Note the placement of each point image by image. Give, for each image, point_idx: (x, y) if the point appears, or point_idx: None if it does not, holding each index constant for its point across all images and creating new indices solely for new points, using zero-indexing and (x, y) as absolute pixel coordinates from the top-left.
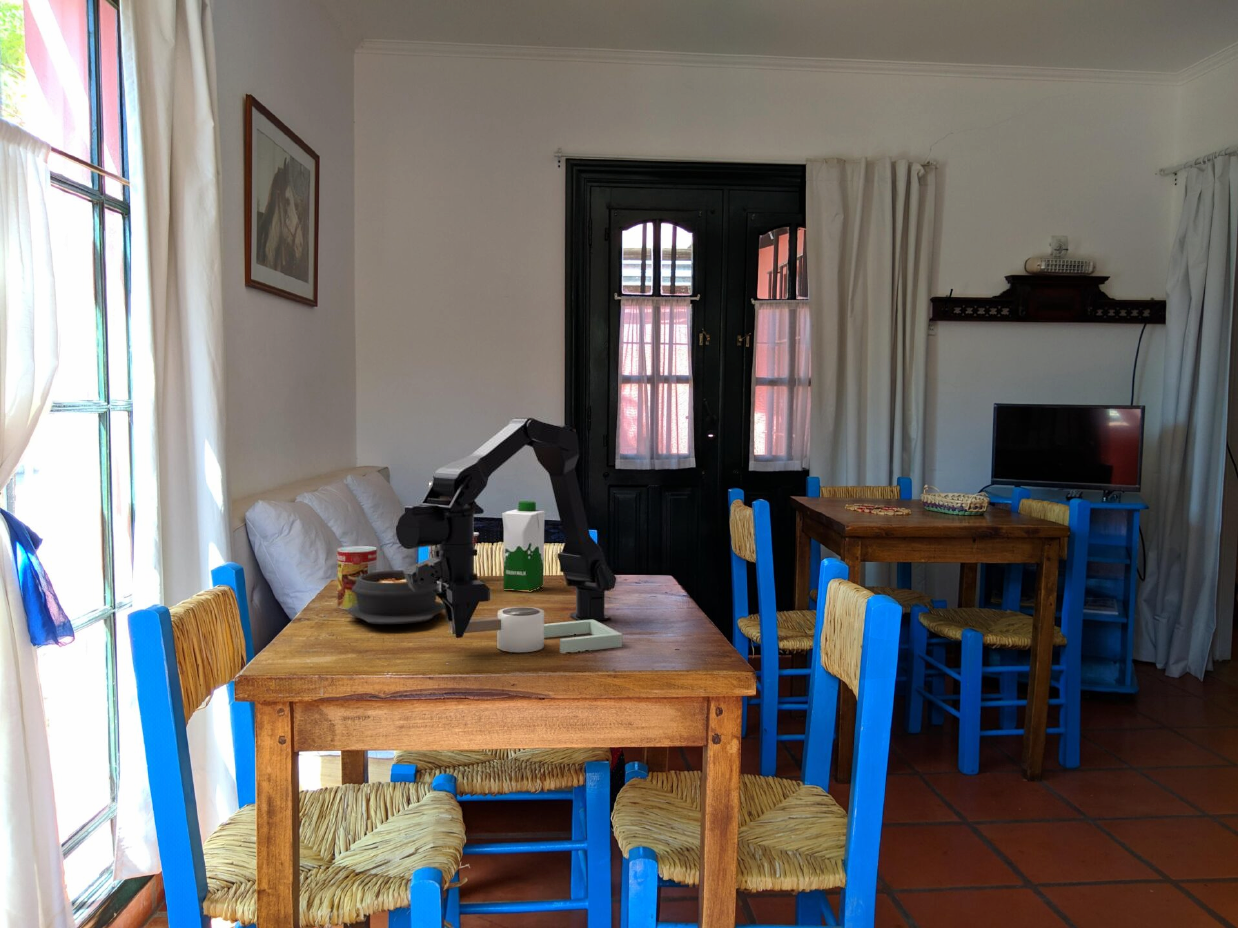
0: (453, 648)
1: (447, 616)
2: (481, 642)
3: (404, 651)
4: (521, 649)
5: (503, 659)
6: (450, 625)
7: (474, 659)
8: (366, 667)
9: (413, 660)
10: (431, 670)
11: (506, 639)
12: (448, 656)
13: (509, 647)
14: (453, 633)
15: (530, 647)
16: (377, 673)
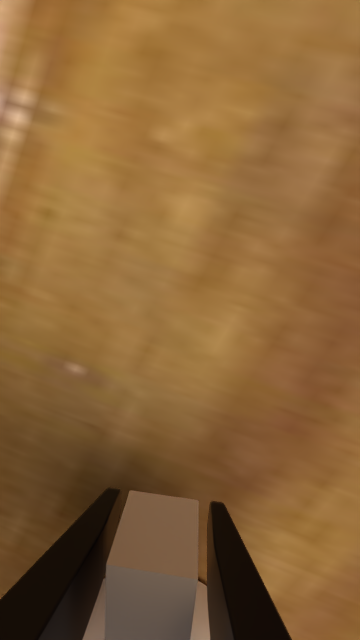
0: (264, 459)
1: (233, 622)
2: (290, 563)
3: (333, 276)
4: None
5: (51, 527)
6: (167, 542)
7: (86, 460)
8: (149, 24)
9: (168, 268)
10: (3, 287)
11: (104, 628)
12: (162, 404)
13: (104, 593)
14: (129, 499)
15: None
16: (32, 57)
